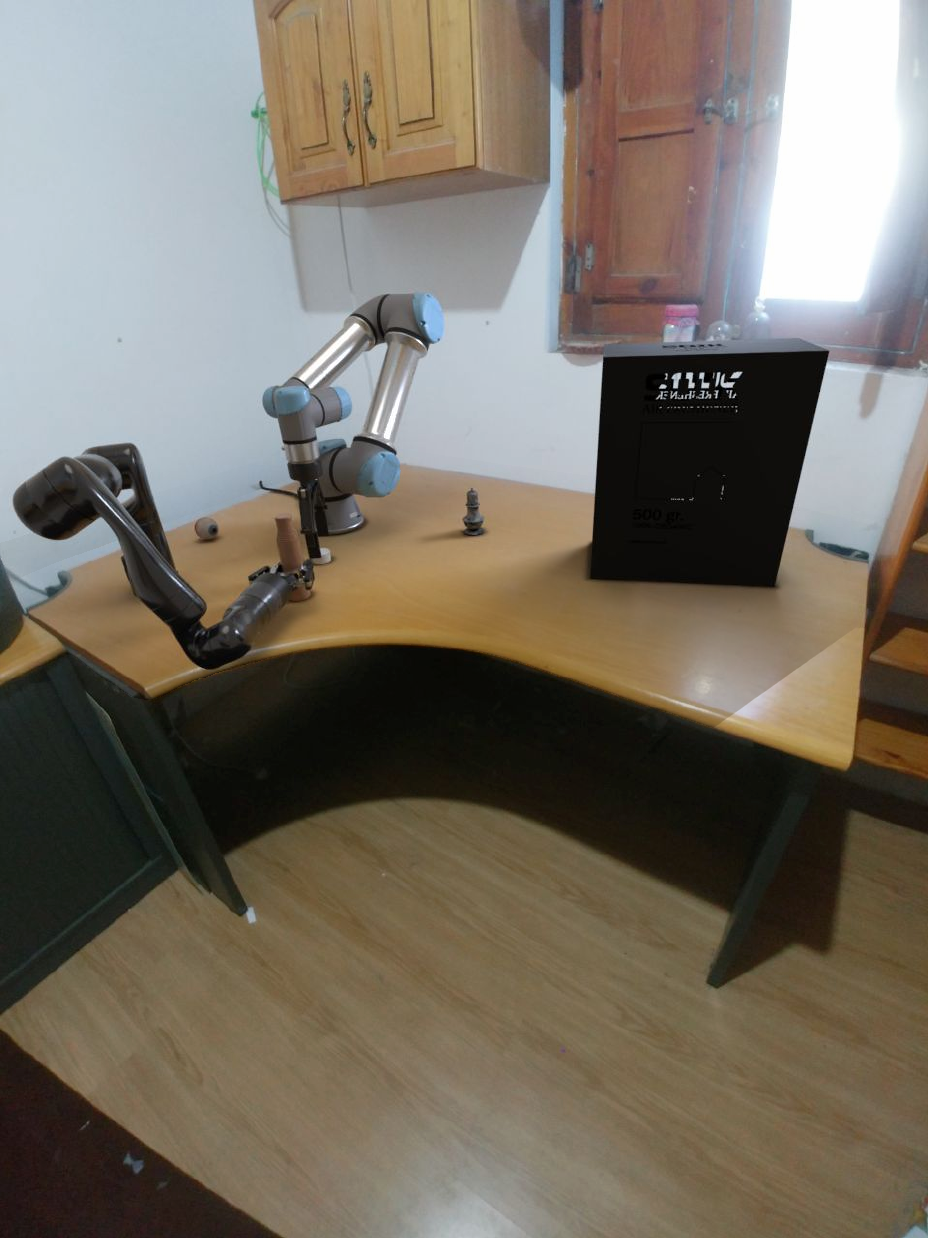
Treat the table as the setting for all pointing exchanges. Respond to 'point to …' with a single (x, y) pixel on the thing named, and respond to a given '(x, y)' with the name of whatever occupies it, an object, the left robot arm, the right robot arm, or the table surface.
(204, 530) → the eyeball
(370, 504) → the table surface
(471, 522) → the salt shaker
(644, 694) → the table surface
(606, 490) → the cardboard box
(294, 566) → the bottle
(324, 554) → the cap
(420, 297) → the right robot arm
